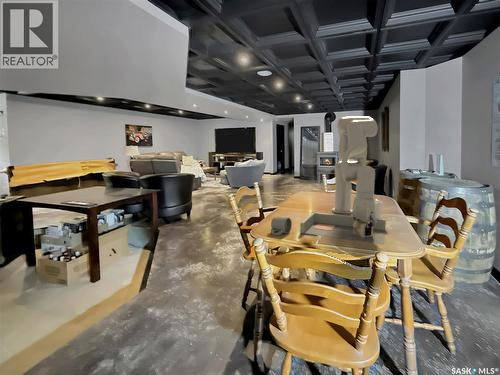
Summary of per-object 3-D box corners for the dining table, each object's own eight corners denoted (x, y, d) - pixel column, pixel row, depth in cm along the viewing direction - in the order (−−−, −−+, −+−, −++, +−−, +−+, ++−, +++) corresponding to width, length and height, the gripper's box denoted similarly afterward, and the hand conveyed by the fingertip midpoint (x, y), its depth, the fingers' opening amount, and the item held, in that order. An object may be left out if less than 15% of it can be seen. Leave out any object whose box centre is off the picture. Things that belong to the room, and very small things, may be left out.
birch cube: (353, 233, 130) (353, 221, 129) (363, 232, 132) (364, 219, 131) (361, 237, 124) (362, 224, 123) (372, 235, 126) (373, 223, 125)
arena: (312, 221, 152) (312, 212, 151) (385, 230, 135) (385, 219, 135) (300, 233, 133) (300, 222, 132) (383, 245, 116) (384, 232, 115)
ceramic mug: (277, 228, 141) (277, 213, 140) (292, 231, 137) (292, 216, 135) (266, 234, 133) (266, 219, 131) (282, 237, 128) (281, 221, 127)
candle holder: (380, 221, 150) (381, 200, 148) (382, 226, 141) (383, 203, 139) (360, 220, 154) (361, 199, 152) (361, 225, 144) (362, 202, 143)
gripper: (345, 192, 132) (344, 228, 135) (371, 199, 116) (369, 240, 119) (358, 191, 134) (357, 227, 137) (386, 197, 118) (383, 238, 121)
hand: (362, 232), depth 128 cm, fingers closed on birch cube, 6 cm apart
